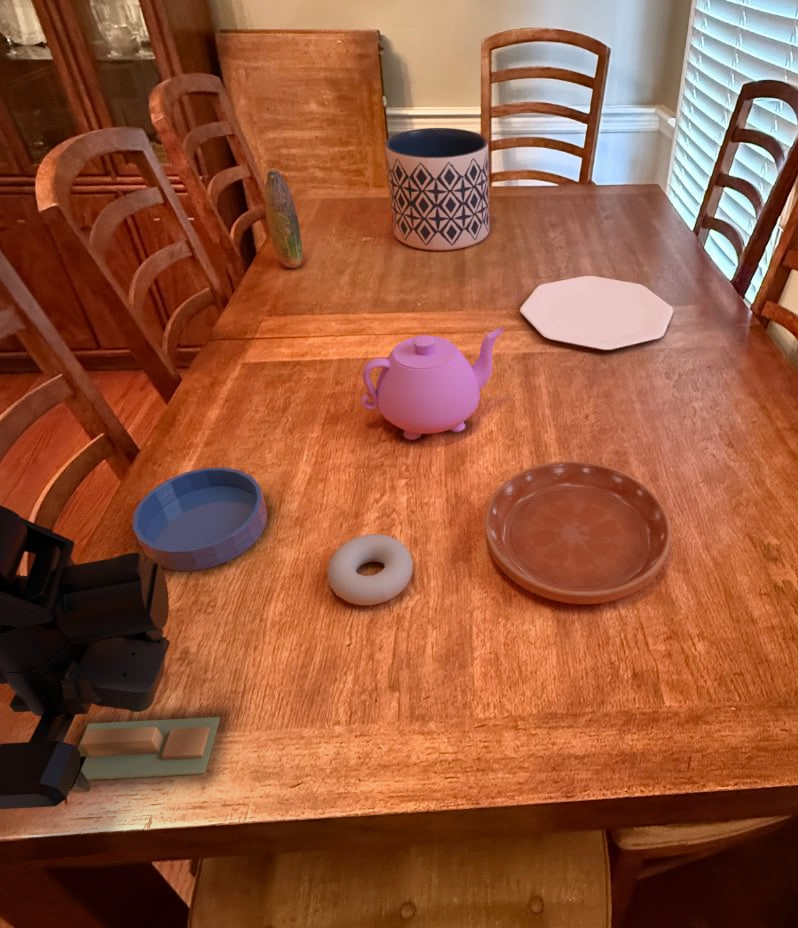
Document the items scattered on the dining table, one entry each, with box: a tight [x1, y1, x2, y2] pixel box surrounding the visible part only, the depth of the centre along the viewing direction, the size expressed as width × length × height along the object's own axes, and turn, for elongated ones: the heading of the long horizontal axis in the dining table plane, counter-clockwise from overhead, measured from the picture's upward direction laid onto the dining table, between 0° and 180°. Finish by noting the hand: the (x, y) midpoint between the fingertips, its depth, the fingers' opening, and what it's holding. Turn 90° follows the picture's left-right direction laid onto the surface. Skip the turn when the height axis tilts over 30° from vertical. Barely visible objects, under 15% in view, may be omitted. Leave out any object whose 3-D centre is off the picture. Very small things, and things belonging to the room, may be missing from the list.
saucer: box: [484, 460, 672, 605], centre depth 86 cm, size 23×23×4 cm
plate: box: [519, 275, 674, 352], centre depth 133 cm, size 28×28×2 cm
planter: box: [384, 127, 490, 252], centre depth 157 cm, size 22×22×20 cm
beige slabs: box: [80, 727, 211, 760], centre depth 65 cm, size 11×3×2 cm, turn 94°
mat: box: [77, 716, 221, 781], centre depth 66 cm, size 13×6×1 cm, turn 93°
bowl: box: [132, 466, 268, 572], centre depth 88 cm, size 15×15×4 cm
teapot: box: [360, 328, 505, 440], centre depth 103 cm, size 22×16×14 cm
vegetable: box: [263, 169, 304, 269], centre depth 142 cm, size 6×6×20 cm
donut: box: [326, 533, 414, 606], centre depth 82 cm, size 10×3×10 cm
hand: (104, 741), depth 65 cm, fingers open, 9 cm apart
